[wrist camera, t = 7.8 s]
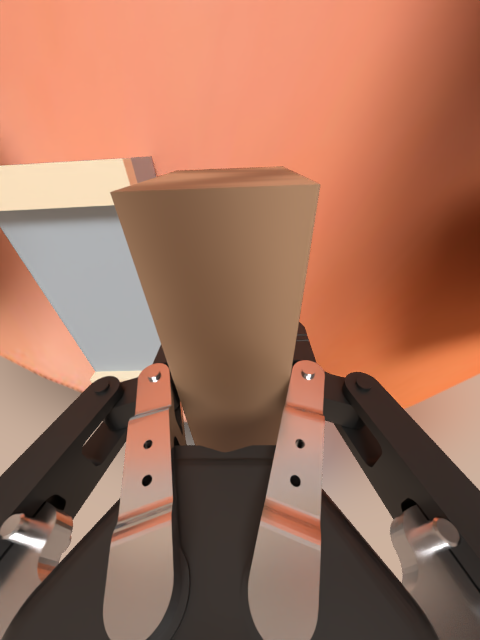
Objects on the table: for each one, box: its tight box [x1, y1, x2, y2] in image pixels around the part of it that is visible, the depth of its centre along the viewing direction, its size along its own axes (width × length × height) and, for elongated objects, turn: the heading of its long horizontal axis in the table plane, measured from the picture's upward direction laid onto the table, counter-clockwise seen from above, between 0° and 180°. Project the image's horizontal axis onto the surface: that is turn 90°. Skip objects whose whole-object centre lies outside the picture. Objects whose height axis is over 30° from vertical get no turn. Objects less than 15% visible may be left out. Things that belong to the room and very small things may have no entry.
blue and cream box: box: [0, 157, 161, 383], centre depth 28 cm, size 14×28×6 cm, turn 3°
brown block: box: [110, 166, 320, 452], centre depth 12 cm, size 4×15×6 cm, turn 2°
